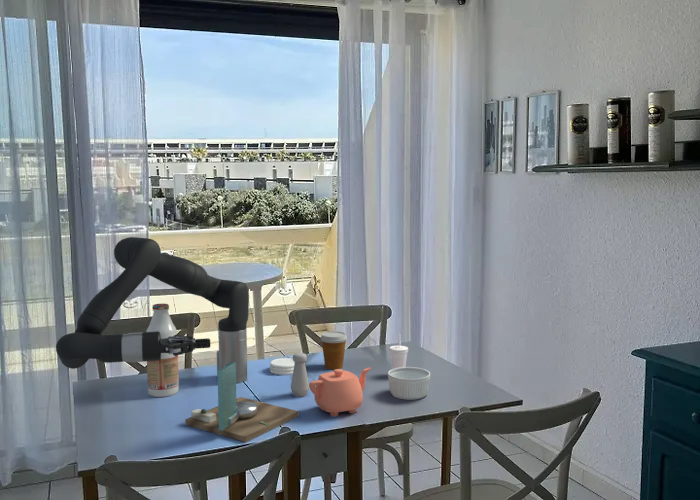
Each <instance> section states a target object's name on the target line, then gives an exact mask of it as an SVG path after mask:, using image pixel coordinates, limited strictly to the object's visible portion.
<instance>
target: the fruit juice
mask: <svg viewBox="0 0 700 500" xmlns="http://www.w3.org/2000/svg"><path fill="white" fill-rule="evenodd" d="M169 310H170V305H169V304H168V303H156V304H152V311H153V313H152V317H151V320H150V322H149V324H148V327H147V329H146V331H145V332H156V331H159V332H160V334H161V339H164V338H168V337H169V336H174V335H178V332H177V328H176V326H175V324H174V323H173V321H172V318H171V315H170V314H169ZM146 377H147V379H146V380H147V393H148V395H149V396H151V397H155V398H164V397H170V396H173V395H177V394H178V393H179V389H180V385H179V384H180V383H179V381H180V380H179V379H180V378H179V355H177V356H173V354H168V353H161V359H160V360H159V361H146Z"/></svg>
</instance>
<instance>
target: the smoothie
mask: <svg viewBox="0 0 700 500" xmlns="http://www.w3.org/2000/svg"><path fill="white" fill-rule="evenodd" d="M388 351H389V352H390V358H391V360H390V361H391V368H392V369H395V368H400V367H406V365H407V363H406V362H407V358H408V352H409V347H408V346H406V345H402V343H401V334H398V344H397V345H391V346H390V347H389V350H388ZM392 369H391V370H392Z"/></svg>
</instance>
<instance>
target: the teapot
mask: <svg viewBox="0 0 700 500" xmlns="http://www.w3.org/2000/svg"><path fill="white" fill-rule="evenodd" d="M370 370H372V367H367V368H364V369H363V370H362V371H361V373H360V376H359V377H358V376H357V375H356V374H354V373H352V372H350V371H348V370H344V369H343V368H341V369H335V370H333V371H329V372H324V373H321V374H319V376H318V378H317V380H312V381H310V382H309V390H310V391H311V393H312V394H313V396H314V401H315V404H316V406H318V407H319V408H320V410H321V409H322V410H321V411H325V412H327V413H330V414H329V416H330V415H331V416H330V417H332V416H336V417H338V416H339V413H341V412H348V413H349V414H355V413H357V410H356V409H359V408H361V406H362V404H363V402H364V394H363V391H364V390H365V387H366V380H367V379H366V377H367V373H368V372H369V371H370Z"/></svg>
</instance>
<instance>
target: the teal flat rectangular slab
mask: <svg viewBox="0 0 700 500" xmlns="http://www.w3.org/2000/svg"><path fill="white" fill-rule="evenodd" d="M236 399H237V383H236V362H230V363H229V364H227V365H225V366H224V367H222V368H220V369H219V370H218V379H217V404H218V405H217V406H218V412H219V430H222V431H223V430H225V429H226V428H227V427H228V426H230V425H231V424H233V423H234V422H235V421H236V420H238V419H239V418H249V417H252V416H255V415H256V414H257V404H256V403H254V402H249V401H241V402H236Z"/></svg>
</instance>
